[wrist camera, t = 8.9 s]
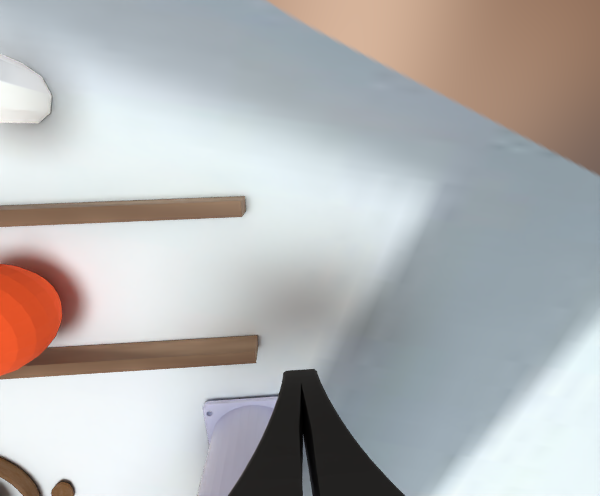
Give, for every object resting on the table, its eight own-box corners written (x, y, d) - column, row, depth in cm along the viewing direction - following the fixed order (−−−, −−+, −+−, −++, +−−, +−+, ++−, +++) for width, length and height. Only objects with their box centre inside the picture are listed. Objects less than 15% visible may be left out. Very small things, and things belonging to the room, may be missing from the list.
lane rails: (258, 345, 23) (256, 363, 21) (-28, 363, 22) (-57, 383, 20) (244, 196, 20) (240, 200, 18) (-100, 209, 19) (-144, 215, 17)
